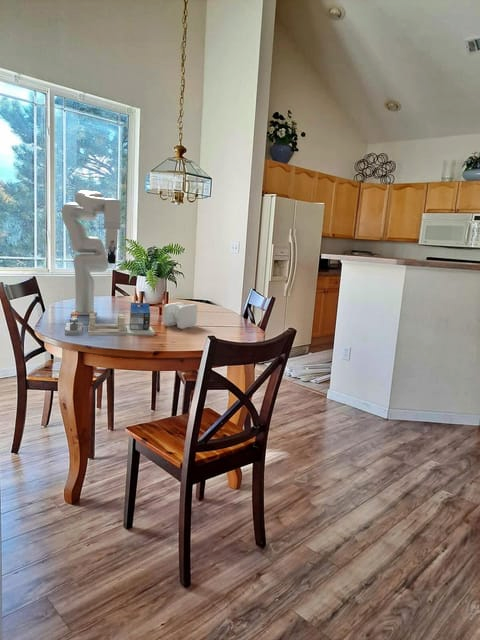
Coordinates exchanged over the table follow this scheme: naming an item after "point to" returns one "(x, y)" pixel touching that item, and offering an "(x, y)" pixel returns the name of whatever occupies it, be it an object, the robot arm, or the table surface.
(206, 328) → the table surface
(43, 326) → the table surface
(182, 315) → the cable organizer
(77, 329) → the base
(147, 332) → the tray
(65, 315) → the table surface
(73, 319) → the lever
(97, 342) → the table surface
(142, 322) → the blue box
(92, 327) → the holder
